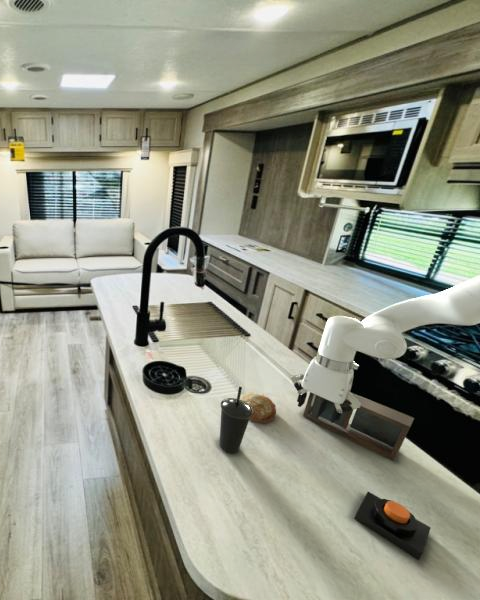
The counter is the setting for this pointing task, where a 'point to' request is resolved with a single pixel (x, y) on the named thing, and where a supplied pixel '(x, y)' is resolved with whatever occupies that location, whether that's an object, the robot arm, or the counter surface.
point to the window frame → (370, 426)
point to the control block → (393, 526)
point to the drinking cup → (233, 422)
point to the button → (396, 512)
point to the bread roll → (260, 407)
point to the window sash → (329, 411)
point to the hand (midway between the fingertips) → (316, 412)
